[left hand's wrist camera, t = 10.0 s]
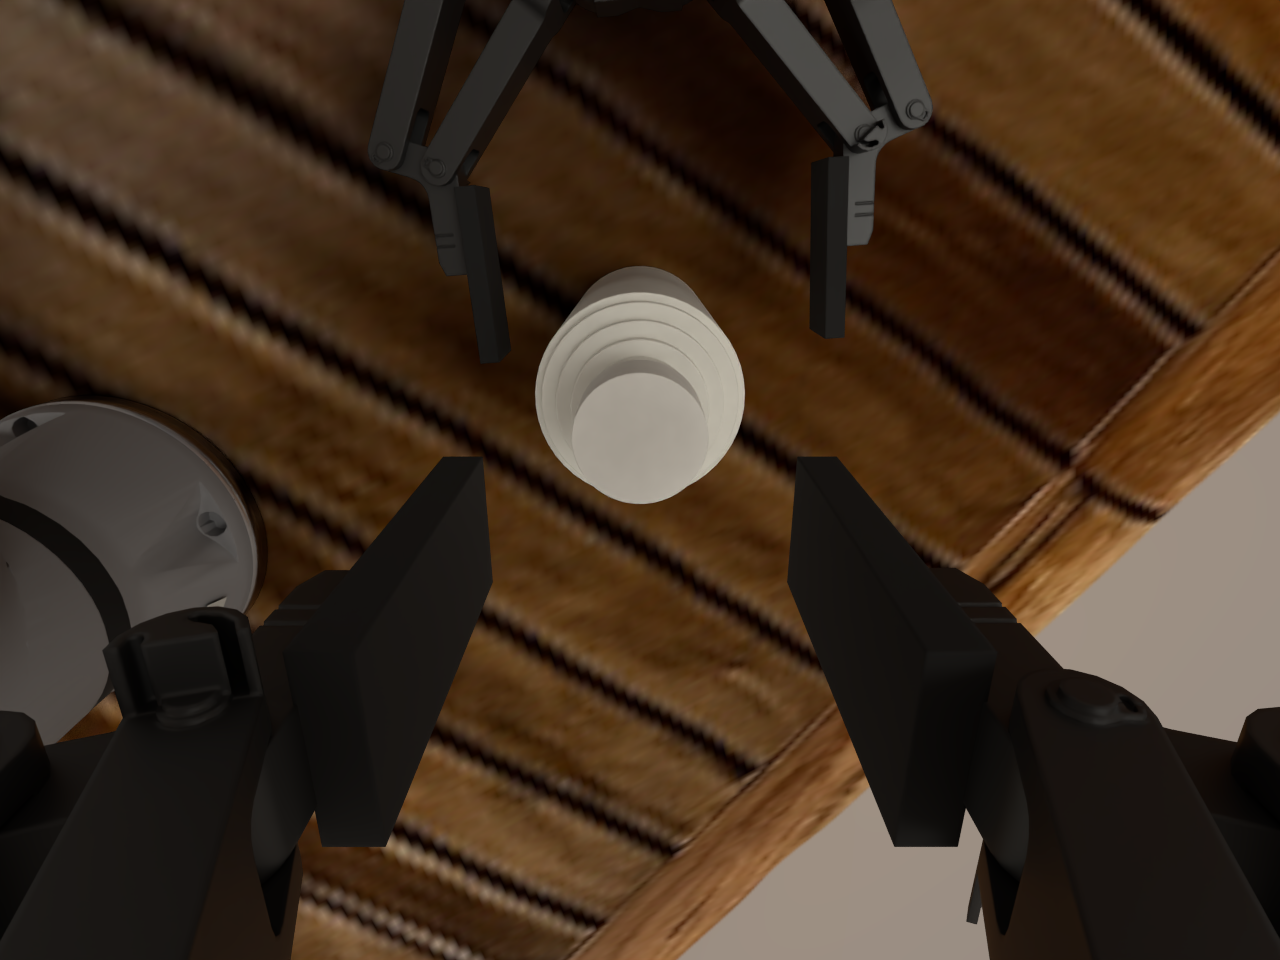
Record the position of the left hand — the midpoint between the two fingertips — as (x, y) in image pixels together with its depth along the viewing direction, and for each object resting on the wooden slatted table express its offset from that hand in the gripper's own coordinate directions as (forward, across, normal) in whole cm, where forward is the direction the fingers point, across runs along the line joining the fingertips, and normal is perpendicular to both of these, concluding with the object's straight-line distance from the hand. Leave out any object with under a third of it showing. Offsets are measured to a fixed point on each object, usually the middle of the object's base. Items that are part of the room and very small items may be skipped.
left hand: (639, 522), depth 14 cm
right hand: (+17, +1, +1) cm, 17 cm away
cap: (+6, 0, 0) cm, 6 cm away
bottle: (+23, 0, 0) cm, 23 cm away
